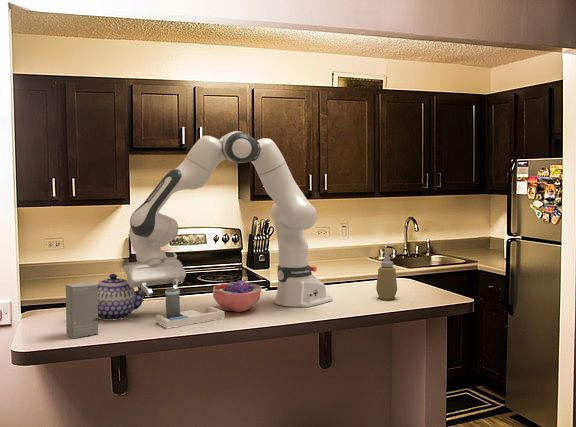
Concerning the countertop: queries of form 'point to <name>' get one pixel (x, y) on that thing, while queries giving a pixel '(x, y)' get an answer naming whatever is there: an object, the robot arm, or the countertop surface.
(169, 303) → the stub
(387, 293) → the squeeze bottle
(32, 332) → the countertop surface
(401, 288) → the countertop surface
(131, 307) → the teapot
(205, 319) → the cream holder tray
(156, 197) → the robot arm
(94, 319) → the skincare box
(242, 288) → the cell model
